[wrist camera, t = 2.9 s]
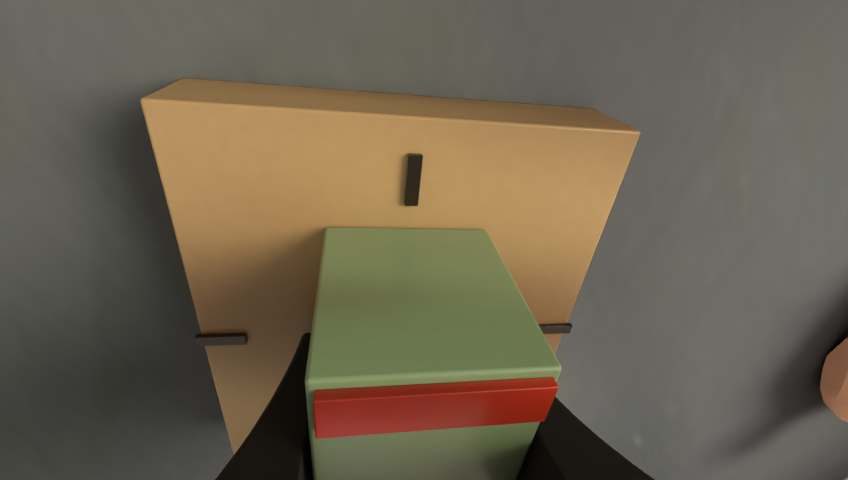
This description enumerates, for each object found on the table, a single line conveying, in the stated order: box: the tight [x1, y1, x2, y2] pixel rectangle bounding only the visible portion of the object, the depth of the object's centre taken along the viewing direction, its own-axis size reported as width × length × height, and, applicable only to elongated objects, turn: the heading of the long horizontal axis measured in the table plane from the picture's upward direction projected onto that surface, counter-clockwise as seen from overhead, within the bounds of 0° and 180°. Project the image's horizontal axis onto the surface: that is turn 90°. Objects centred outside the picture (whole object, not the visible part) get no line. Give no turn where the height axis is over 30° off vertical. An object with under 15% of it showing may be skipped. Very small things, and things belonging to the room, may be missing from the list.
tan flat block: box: [140, 78, 640, 455], centre depth 14 cm, size 14×12×3 cm
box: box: [305, 227, 561, 480], centre depth 11 cm, size 8×4×5 cm, turn 174°
